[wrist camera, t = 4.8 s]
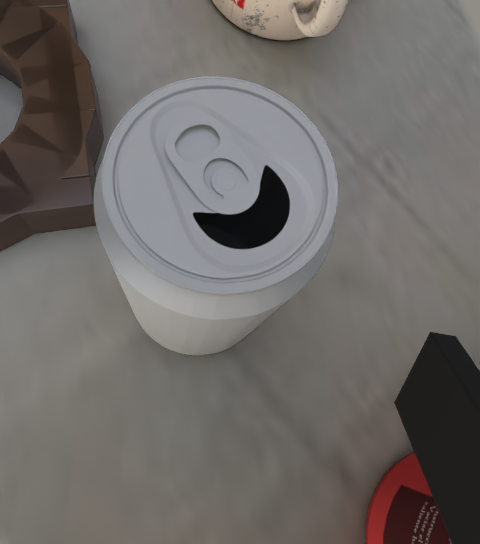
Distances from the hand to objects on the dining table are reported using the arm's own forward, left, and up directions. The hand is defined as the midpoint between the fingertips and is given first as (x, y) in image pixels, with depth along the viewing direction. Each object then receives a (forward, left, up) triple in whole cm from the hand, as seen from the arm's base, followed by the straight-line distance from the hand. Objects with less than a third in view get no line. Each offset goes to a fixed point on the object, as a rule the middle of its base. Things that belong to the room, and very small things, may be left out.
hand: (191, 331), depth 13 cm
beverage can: (+3, -1, -9) cm, 10 cm away
